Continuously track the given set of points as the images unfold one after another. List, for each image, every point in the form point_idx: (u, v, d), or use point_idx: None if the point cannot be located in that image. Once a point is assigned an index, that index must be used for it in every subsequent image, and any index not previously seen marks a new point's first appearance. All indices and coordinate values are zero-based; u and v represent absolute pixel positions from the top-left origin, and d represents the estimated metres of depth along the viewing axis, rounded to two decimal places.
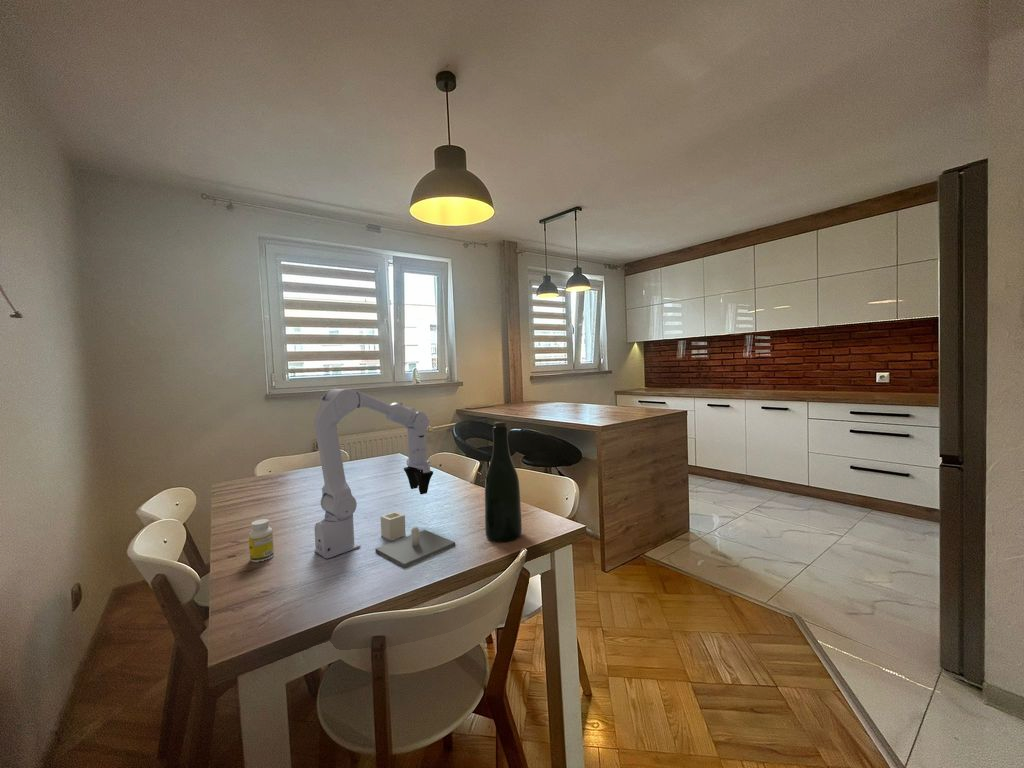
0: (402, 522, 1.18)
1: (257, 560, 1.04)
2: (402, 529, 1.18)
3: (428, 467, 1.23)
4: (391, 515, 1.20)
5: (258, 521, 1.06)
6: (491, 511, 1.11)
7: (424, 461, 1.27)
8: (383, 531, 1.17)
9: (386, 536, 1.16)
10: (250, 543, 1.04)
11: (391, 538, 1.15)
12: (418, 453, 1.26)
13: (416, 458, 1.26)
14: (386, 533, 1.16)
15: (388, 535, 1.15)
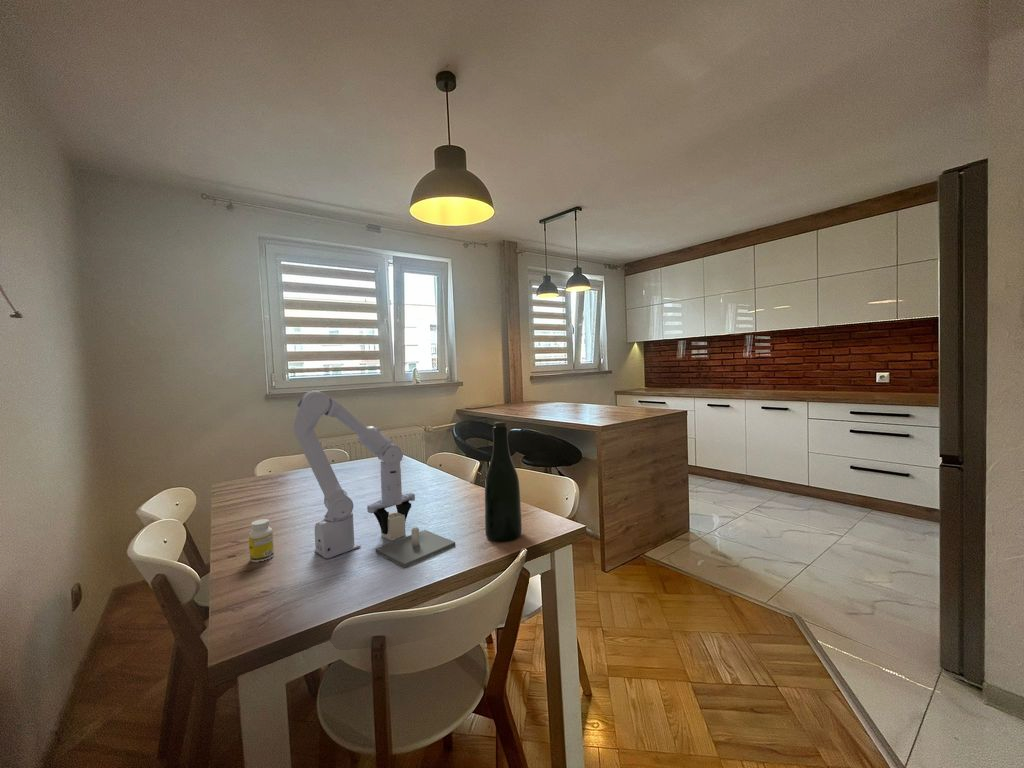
0: (402, 522, 1.18)
1: (257, 560, 1.04)
2: (402, 529, 1.18)
3: (369, 507, 1.12)
4: (391, 515, 1.20)
5: (258, 521, 1.06)
6: (491, 511, 1.11)
7: (386, 500, 1.15)
8: None
9: (386, 536, 1.16)
10: (250, 543, 1.04)
11: (391, 538, 1.15)
12: (381, 489, 1.16)
13: None
14: None
15: (388, 535, 1.15)
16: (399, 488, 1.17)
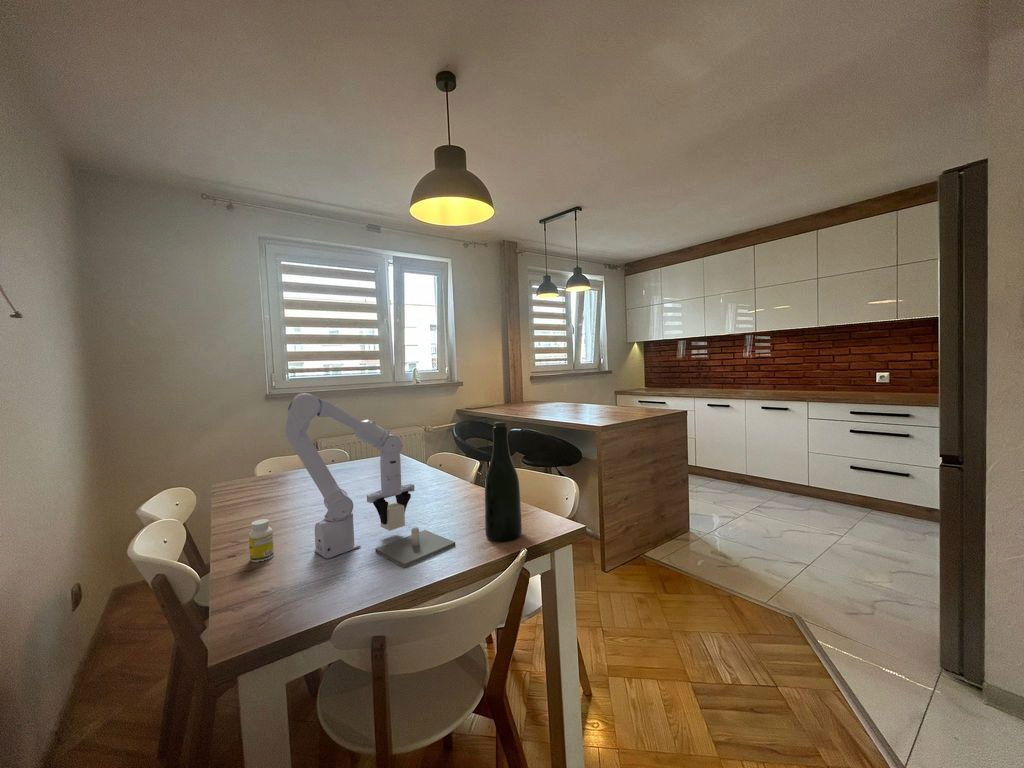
0: (401, 512, 1.18)
1: (257, 560, 1.04)
2: (401, 519, 1.18)
3: (369, 497, 1.12)
4: (390, 506, 1.20)
5: (258, 521, 1.06)
6: (491, 511, 1.11)
7: (385, 490, 1.15)
8: None
9: (385, 526, 1.16)
10: (250, 543, 1.04)
11: (390, 528, 1.15)
12: (381, 479, 1.16)
13: (381, 484, 1.17)
14: None
15: (387, 525, 1.15)
16: (399, 478, 1.17)
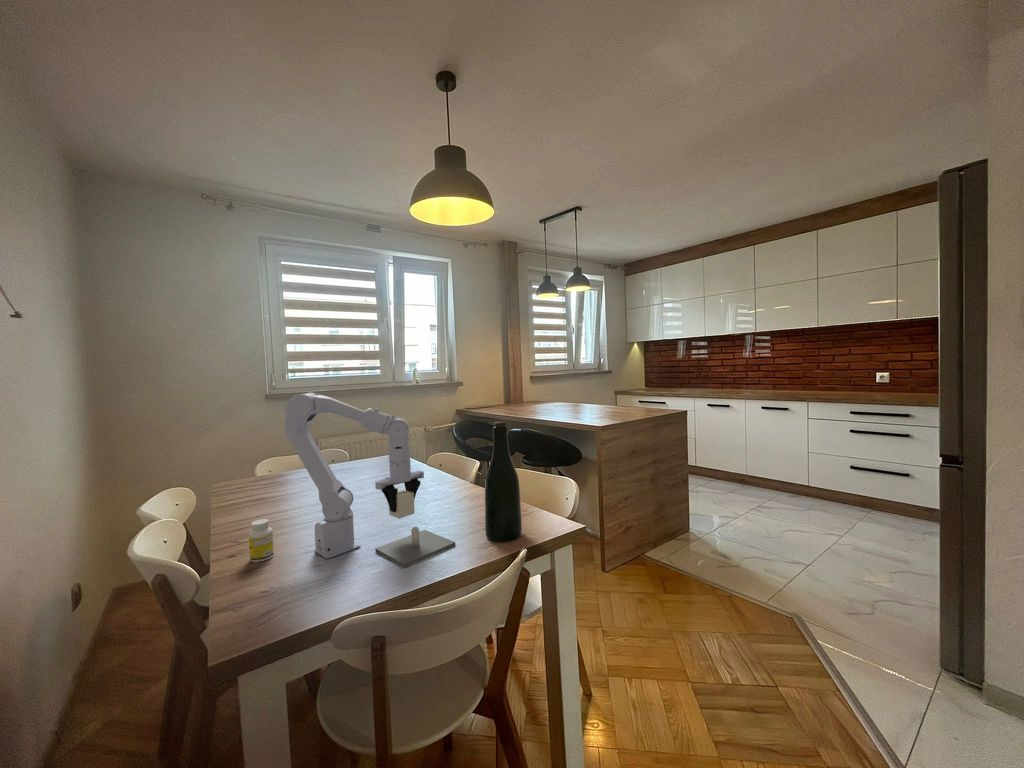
0: (411, 500, 1.13)
1: (257, 560, 1.04)
2: (411, 507, 1.13)
3: (378, 484, 1.08)
4: (399, 493, 1.15)
5: (258, 521, 1.06)
6: (491, 511, 1.11)
7: (394, 477, 1.11)
8: None
9: (395, 514, 1.12)
10: (250, 543, 1.04)
11: (400, 516, 1.11)
12: None
13: None
14: None
15: (397, 513, 1.11)
16: (408, 464, 1.13)
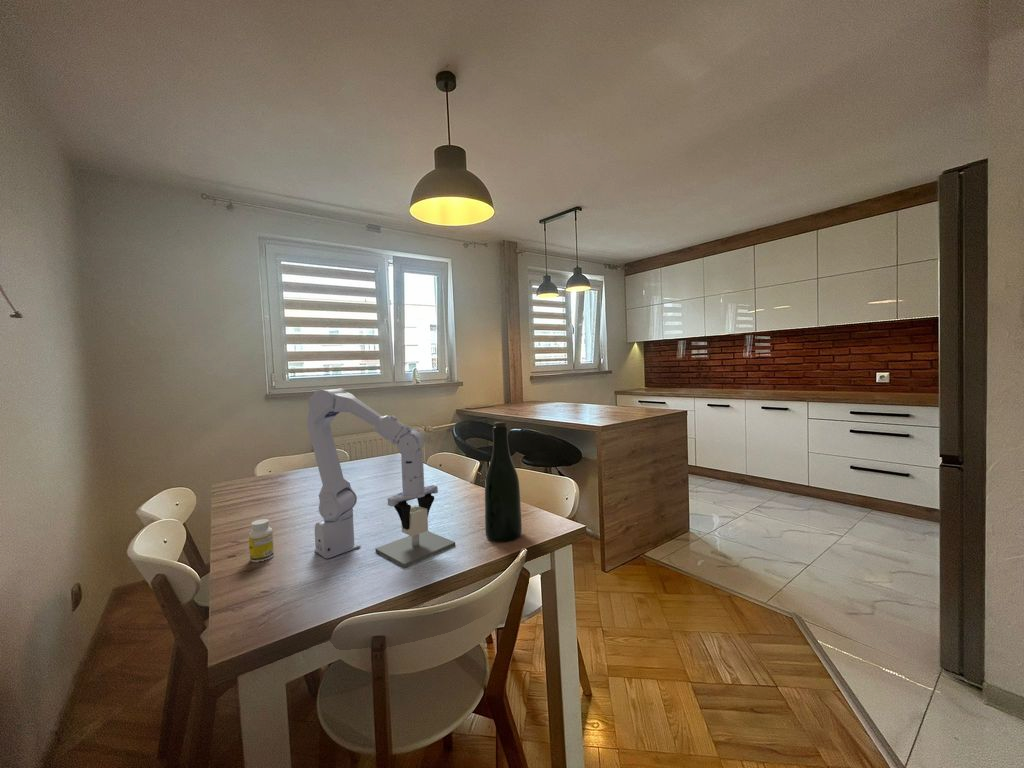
0: (424, 516, 1.08)
1: (257, 560, 1.04)
2: (424, 524, 1.08)
3: (390, 500, 1.03)
4: (412, 509, 1.10)
5: (258, 521, 1.06)
6: (491, 511, 1.11)
7: (407, 492, 1.06)
8: None
9: (407, 532, 1.07)
10: (250, 543, 1.04)
11: (413, 534, 1.06)
12: (402, 481, 1.07)
13: (402, 486, 1.07)
14: None
15: (410, 530, 1.06)
16: (422, 479, 1.07)
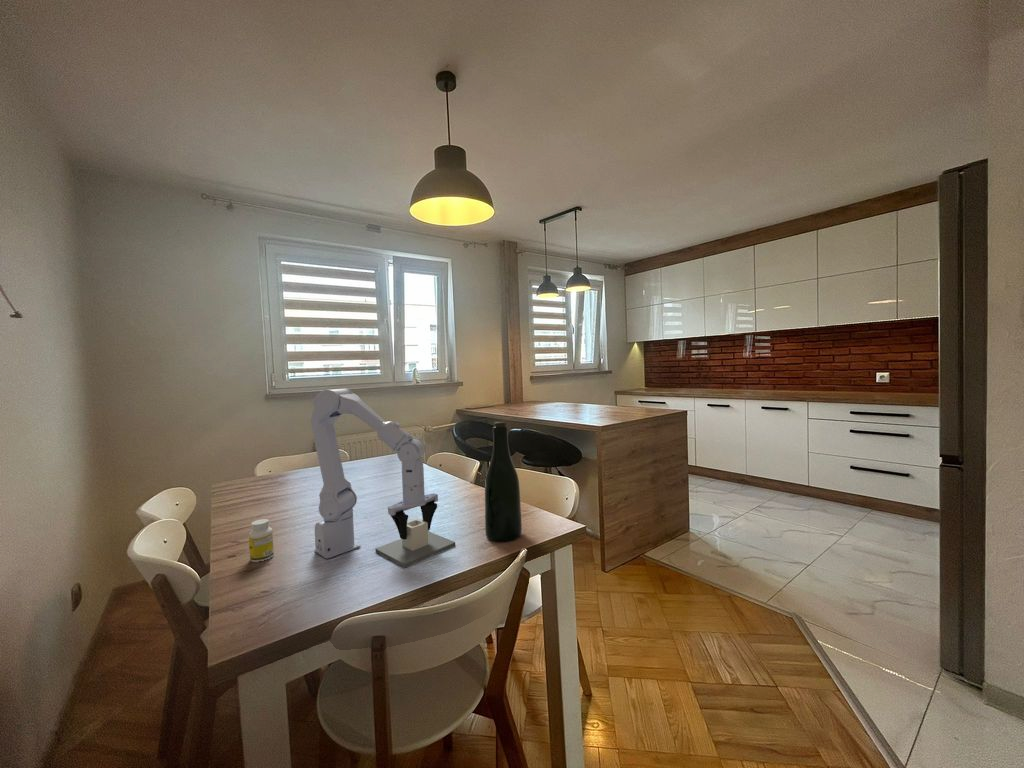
0: (425, 530, 1.08)
1: (257, 560, 1.04)
2: (425, 538, 1.08)
3: (390, 509, 1.03)
4: (412, 523, 1.10)
5: (258, 521, 1.06)
6: (491, 511, 1.11)
7: (408, 501, 1.06)
8: (404, 540, 1.08)
9: (408, 546, 1.07)
10: (250, 543, 1.04)
11: (413, 548, 1.06)
12: (403, 489, 1.07)
13: None
14: (408, 542, 1.07)
15: (410, 544, 1.06)
16: (422, 488, 1.07)
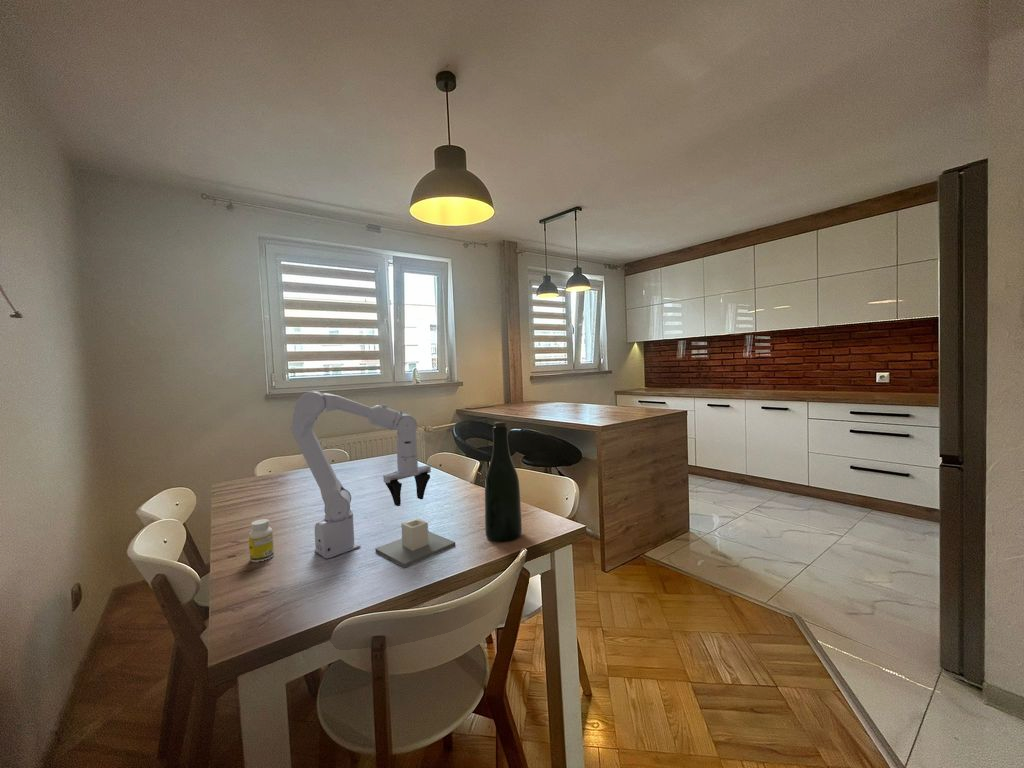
0: (425, 530, 1.08)
1: (257, 560, 1.04)
2: (425, 538, 1.08)
3: (385, 477, 1.11)
4: (412, 523, 1.10)
5: (258, 521, 1.06)
6: (491, 511, 1.11)
7: (402, 471, 1.14)
8: (404, 540, 1.08)
9: (408, 546, 1.07)
10: (250, 543, 1.04)
11: (413, 548, 1.06)
12: (397, 460, 1.15)
13: (397, 465, 1.16)
14: (408, 542, 1.07)
15: (410, 544, 1.06)
16: (415, 459, 1.15)
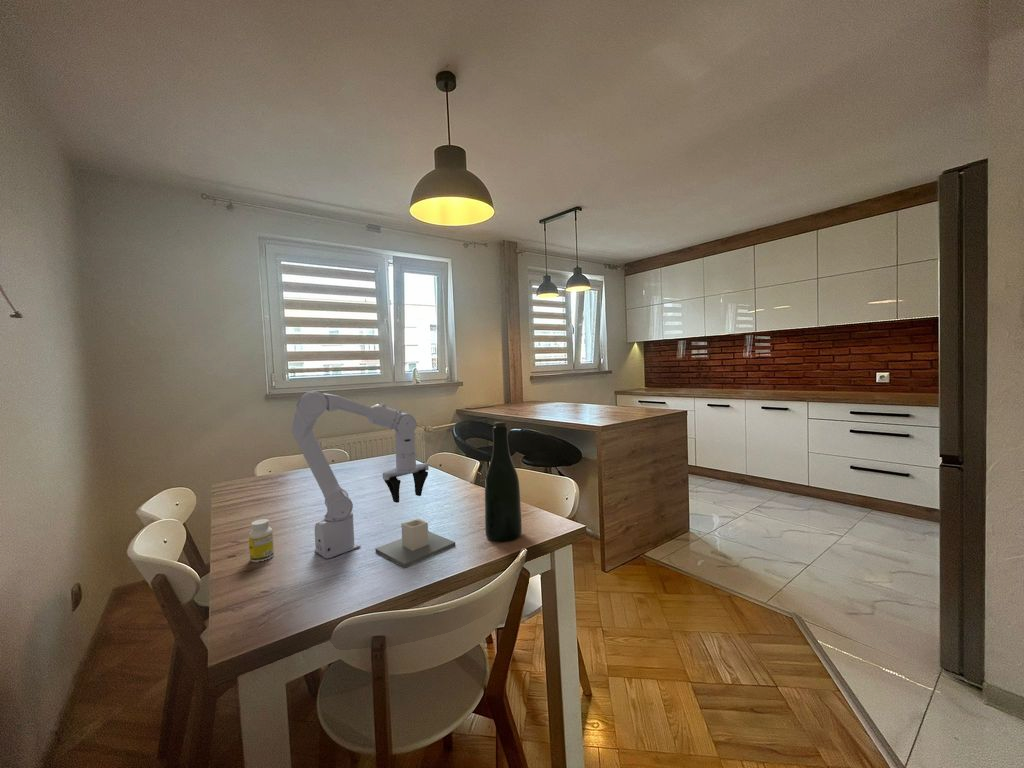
0: (425, 530, 1.08)
1: (257, 560, 1.04)
2: (425, 538, 1.08)
3: (385, 474, 1.14)
4: (412, 523, 1.10)
5: (258, 521, 1.06)
6: (491, 511, 1.11)
7: (400, 468, 1.17)
8: (404, 540, 1.08)
9: (408, 546, 1.07)
10: (250, 543, 1.04)
11: (413, 548, 1.06)
12: (396, 458, 1.18)
13: (396, 462, 1.18)
14: (408, 542, 1.07)
15: (410, 544, 1.06)
16: (413, 456, 1.18)
